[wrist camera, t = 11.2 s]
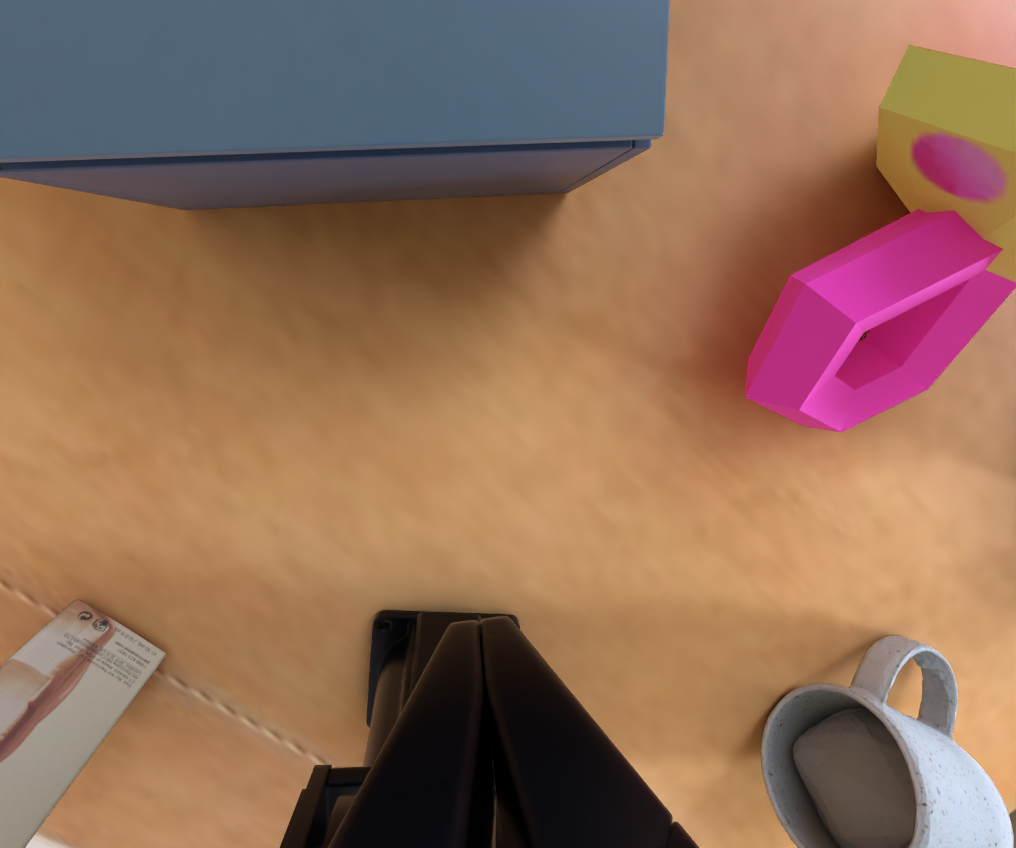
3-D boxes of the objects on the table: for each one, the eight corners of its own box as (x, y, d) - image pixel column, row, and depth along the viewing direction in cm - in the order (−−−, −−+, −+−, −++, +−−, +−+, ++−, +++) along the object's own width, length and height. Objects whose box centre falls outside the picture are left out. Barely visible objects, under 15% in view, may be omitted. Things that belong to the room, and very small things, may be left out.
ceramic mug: (838, 786, 29) (969, 958, 22) (734, 752, 27) (840, 929, 20) (956, 651, 27) (1146, 794, 20) (852, 603, 25) (1020, 742, 18)
